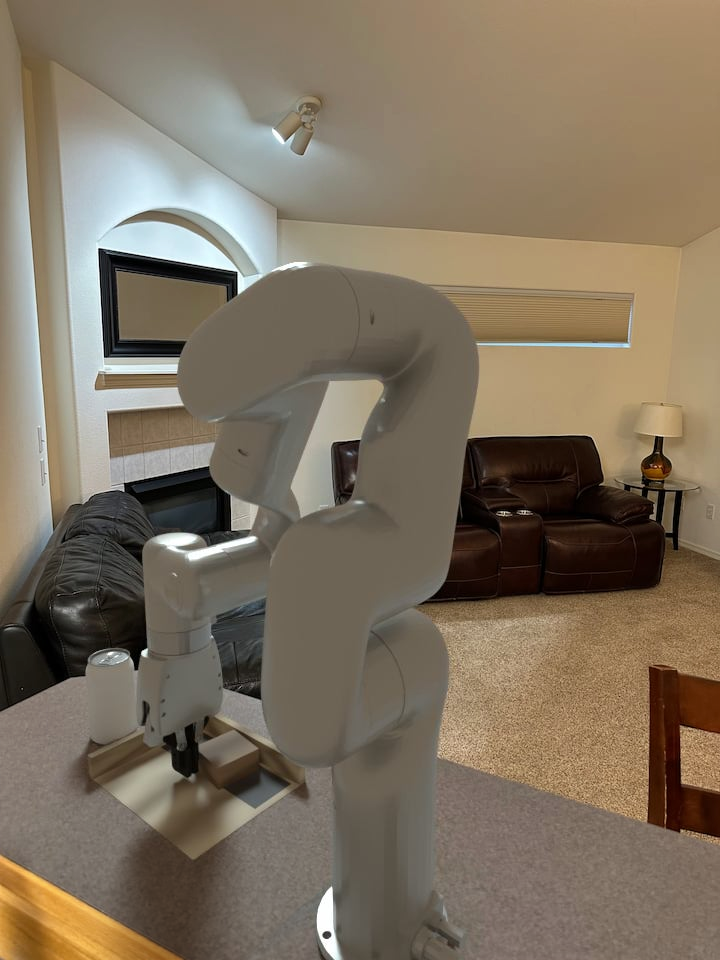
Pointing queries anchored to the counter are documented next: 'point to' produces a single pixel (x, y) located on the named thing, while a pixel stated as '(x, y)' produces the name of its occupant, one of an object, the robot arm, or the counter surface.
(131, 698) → the can
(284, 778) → the board
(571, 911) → the counter surface
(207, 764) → the block
